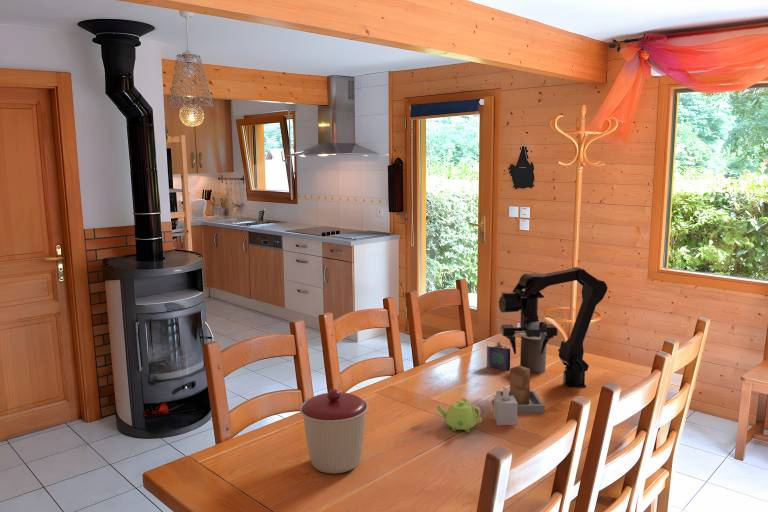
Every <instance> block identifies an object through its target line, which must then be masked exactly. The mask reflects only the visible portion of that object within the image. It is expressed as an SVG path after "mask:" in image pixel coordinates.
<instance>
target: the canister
mask: <svg viewBox="0 0 768 512" xmlns="http://www.w3.org/2000/svg"><path fill="white" fill-rule="evenodd" d="M368 410H369V403H368V402H367V401H366V400H365V399H364V398H362V397H360V396H358V395H356V394H353V393H348V392H340V390H339V389H336V388H333V389H330V390H329V391H328V392H325V393H321V394H318V395H315V396H312V397H310V398H309V399H307V400H305V401H304V402H303V403H302V404H301V405H300V407H299V411H300V414H301V415H302V417H303V418H302V420H303V424H304V431H305V436H306V437H305V438H306V439H305V440H306V445H307V449H308V456H309V460H310V462H311V464H312V466H313V467H314V468H315V469H316V470H317V471H319V472H321V473H326V474H334V475H335V474H336V475H337V474H343V473H347V472H349V471H351V470H353V469H355V468H356V467H357V466H358V465H359V463H360V461H361V458H362V453H363V452H362V451H363V445H364V436H365V426H366V425H365V424H366V414H367V412H368Z"/></svg>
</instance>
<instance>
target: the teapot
mask: <svg viewBox="0 0 768 512" xmlns="http://www.w3.org/2000/svg"><path fill="white" fill-rule="evenodd" d="M475 409H476V410H478V411H477V412H476V410H475ZM436 410H437V411H438V412H439V413H440V414H441V415H442V416H443V417H444V418H445V422H446V424H447V425H448V426H449V428H451V431H452V432H457V430H461V431H462V430H463V431H464V432H466V433H470V432H471V429H472V428H474V427H475V426H476V425H477V423H479V424H480V423H482V422H483V419H482V417H480V415H481V409H480V407H478V406H476V405H473V406H472V404H471V403H469V402H467V399H466V398H461V399H460V400H457V401H455V402H453V403H452V404H451V405H450V406H449V408H448V410H447V411H446V410H445V409H444V408H443V407H442V406H441V405H438V406H437V407H436Z"/></svg>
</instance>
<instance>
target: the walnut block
mask: <svg viewBox="0 0 768 512" xmlns="http://www.w3.org/2000/svg"><path fill="white" fill-rule="evenodd" d="M530 386H531V374H530V369H529V368H526V367H522V366H520V365H516V366H514V367H510V370H509V391H510V396H514V398H515V399H516V401H517V403H518V405H528V404H529V395H530V390H531V387H530Z"/></svg>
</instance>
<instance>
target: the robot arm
mask: <svg viewBox="0 0 768 512" xmlns="http://www.w3.org/2000/svg"><path fill="white" fill-rule="evenodd" d="M575 281H576V282H577V283H578V284H579V285H581V286H582V288H581V299H582V300H581V301H582V302H581V304H580V307H579V310H578V313H577V316H576V318H575V321H574V324H573V327H572V330H571V332H570V335H569V337H568V339H567V340H566V341H564V340H562V341H561V343H560V347H559V348H558V350H557V351H558V357H559V359H560V360H561V361H562V363H563V366H565V367H564V370H563V378H562V379H563V383H564V384H565V385H566V386H567V388H586V387H587V385H586V383H585V381H586V378H585V377H586V372H587V371H588V369H589V367H590V366H589V364H588V363H587V362H586V361H585V360H584V354H585V353H584V352H585V351H584V342H585V341H584V340H585V338H586V335H587V333H588V330H589V327H590V324H591V321H592V319H593V316H594V313H595V310H596V306H598V304H599V303H601V302H602V301H603V299H604V298H605V296H606V293H607V292H608V289H609V288H608V285H607V283H606V281H603V280H601V279H598V278H596V277H594V276H593V275H592V274H590V273H589V272H587V270H585V268H582V267H578V266H574V267H573V268H568V269H563V270H557V271H553V272H547V273H524V274H522V275H521V276H520V278H519V280H518V283H517V284H516V285H515V287H514V288H513V289H512V291H511V292H501V296H500V297H499V299H498V308H499V311H500V313H505V314H506V313H516V312H520V321H519V327H516V326H515V327H514V325H513V324H501V326H500V330H499V332H500V333H501V335H502V336H503V337H505V338H506V339H508V341H509V342H510V345H511V348H512V351H513V354H514V355H517V345H516V334H523V333H526V336H527V337H540V336H541V342H540V353H541V354H542V353H543V351H544V348H545V346H546V347H547V345H546V344H547V343H549V342H548V341H549V340H550V339H553V338H554V337H556V336H558V328H557V327H556V326H555V325H554V324H553V323H547V322H546V321H539V320H540V319H539V314H538V310H539V306H538V305H539V299H544V298H545V296H544V295H543V294H542V293H541V291H543V290H545V289H547V288H548V287H550V286H555V285H561V284H564V283H565V284H566V283H570V282H575Z"/></svg>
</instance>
